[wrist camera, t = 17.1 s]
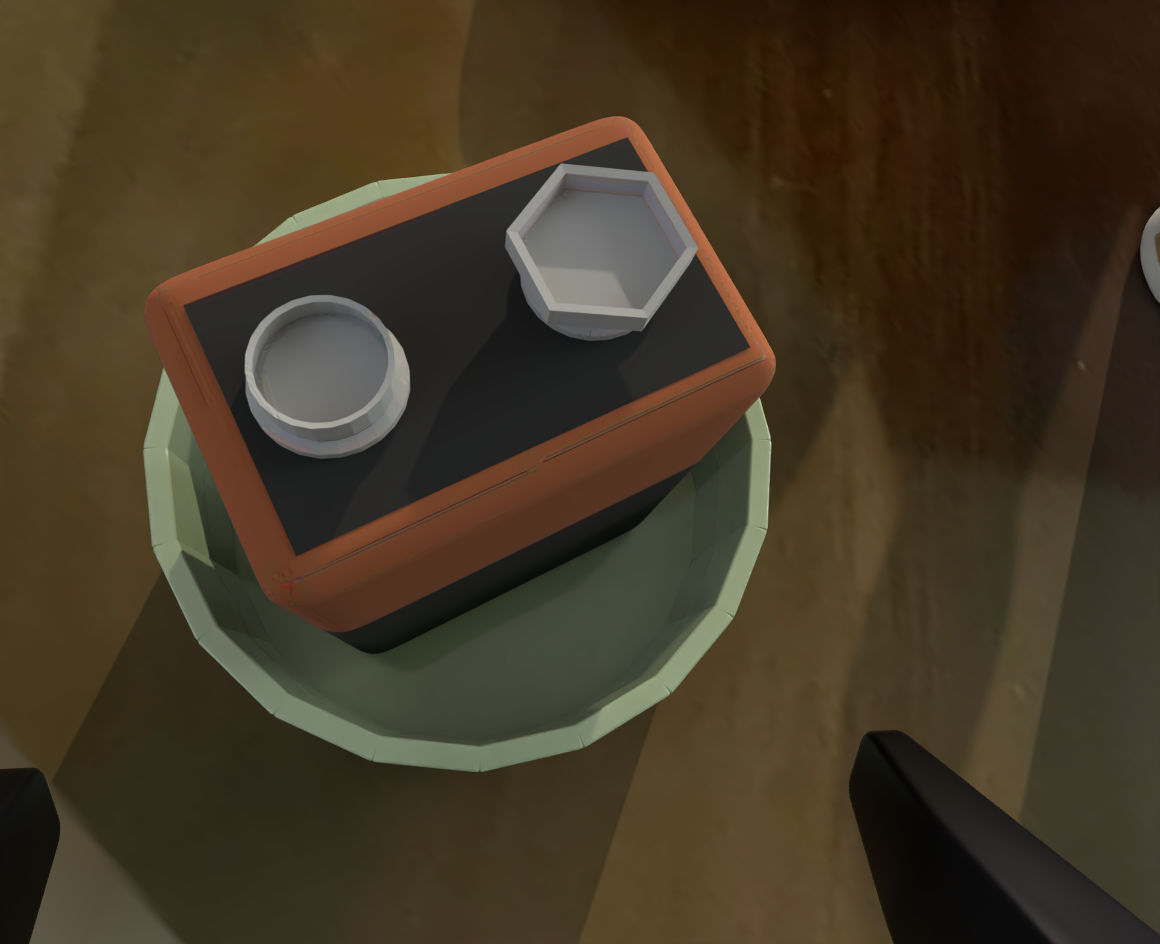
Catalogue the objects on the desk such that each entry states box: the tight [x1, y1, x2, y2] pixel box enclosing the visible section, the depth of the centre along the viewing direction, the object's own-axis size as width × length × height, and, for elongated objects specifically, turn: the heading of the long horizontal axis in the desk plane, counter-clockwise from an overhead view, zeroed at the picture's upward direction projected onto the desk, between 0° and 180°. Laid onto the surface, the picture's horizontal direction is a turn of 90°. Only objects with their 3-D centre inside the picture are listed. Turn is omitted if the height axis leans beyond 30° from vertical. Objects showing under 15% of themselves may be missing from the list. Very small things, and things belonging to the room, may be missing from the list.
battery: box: [144, 116, 776, 654], centre depth 14 cm, size 4×7×10 cm, turn 117°
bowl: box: [143, 173, 771, 772], centre depth 17 cm, size 11×11×4 cm
